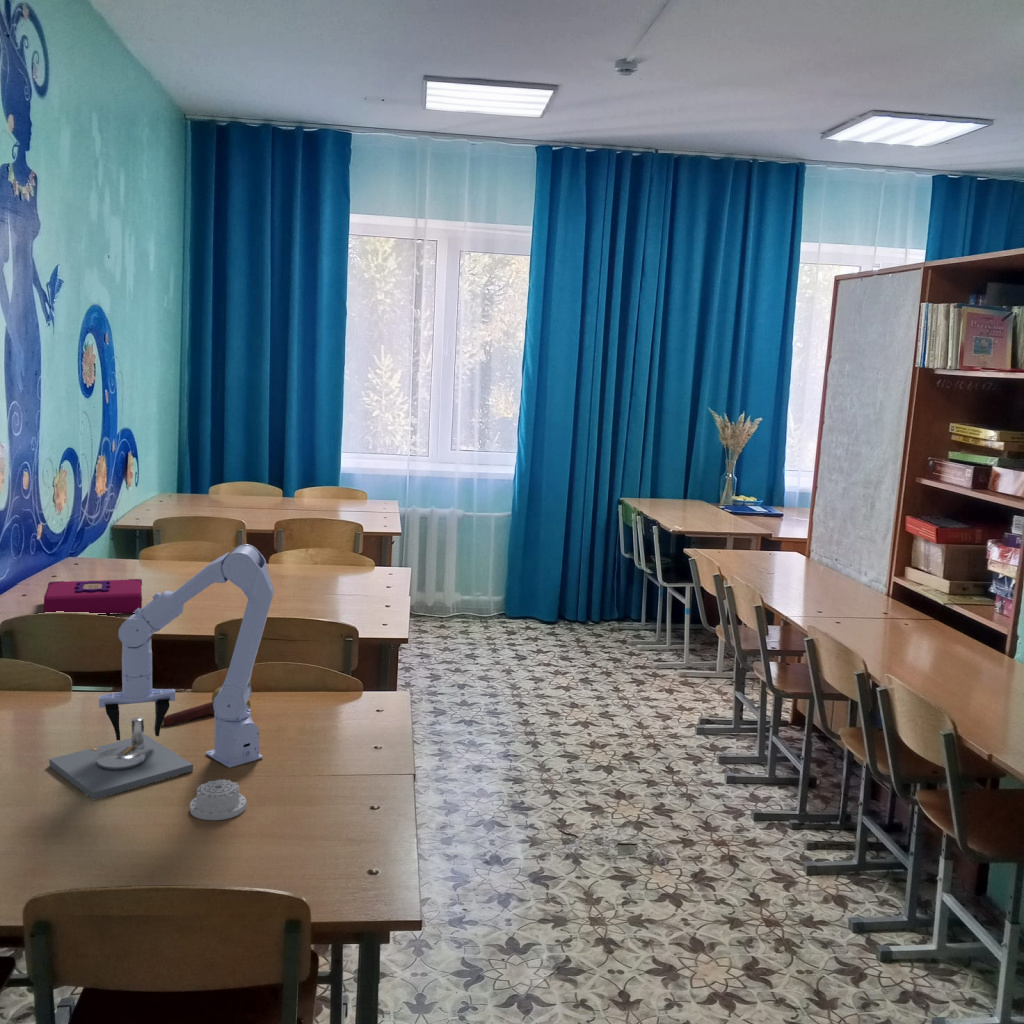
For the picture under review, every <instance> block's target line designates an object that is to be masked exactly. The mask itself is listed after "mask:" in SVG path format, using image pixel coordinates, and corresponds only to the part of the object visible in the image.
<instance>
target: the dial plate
mask: <svg viewBox="0 0 1024 1024" xmlns="http://www.w3.org/2000/svg"><path fill="white" fill-rule="evenodd" d="M144 741H145V746H144V747H143V748H141V749H142V750H143V751H144V752H145V761H144V762H143V763H142V764H140V765H138V766H136V767H133V768H129V769H123V770H107V769H103V768H100V767H99V766H98V765H97V756H98V755H99V754H100V753H102V752H104V751H106V750H109V749H113V748H120V747H128V746H129V745H130V744H132V737H131V738H128V739H127V738H126V739H124V740H118V741H115V742H113V743H108V744H103V745H100V746H97V747H96V746H95V747H91V748H87V749H84V750H80V751H76V752H71V753H69V754H63V755H60V756H56V757H52V758H49V760H48V763H49V766H48V767H50V768H51V769H52V768H53V769H52V770H54V771H55V772H57V773H58V774H59V776H61V777H63V779H65V778H66V779H65V780H67V781H68V782H69V781H70V782H71V783H70V782H69V783H70V784H72V785H73V784H74V785H75V786H74V785H73V786H74V787H75V788H76V789H78V788H79V789H80V790H79V789H78V790H79V791H81V790H82V791H83V792H84V793H83V792H82V791H81V792H82V793H83V794H85V795H86V794H87V795H88V796H89V797H88V796H87V795H86V796H87V797H88V798H90V799H91V798H92V799H93V801H95V800H94V799H96V800H98V799H97V798H100V799H102V798H101V797H103V798H105V797H104V796H106V797H109V796H108V795H110V796H112V795H111V794H113V795H115V794H114V793H117V794H119V793H118V792H120V793H122V792H121V791H124V792H126V791H125V790H127V791H129V790H128V789H131V788H134V789H136V788H135V787H137V788H139V787H138V786H141V787H143V786H142V785H144V786H146V785H145V784H148V785H150V784H149V783H151V784H153V783H152V782H155V781H158V782H160V781H159V780H162V779H165V780H167V779H166V778H168V777H172V776H175V777H177V776H176V775H179V776H181V775H180V774H182V775H184V774H183V773H186V774H188V773H187V772H189V773H191V771H194V763H192V762H190V761H188V760H187V759H185V758H184V757H182V756H180V755H179V754H177V753H176V752H174V751H173V750H171V749H169V748H168V747H167V746H165V745H163V744H161V743H160V742H158V741H156V740H155V739H153V738H152V737H150V736H149V735H147V734H144ZM172 778H173V777H172ZM168 779H169V778H168ZM162 781H163V780H162ZM155 783H156V782H155ZM131 790H132V789H131ZM92 799H91V800H92Z"/></svg>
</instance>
